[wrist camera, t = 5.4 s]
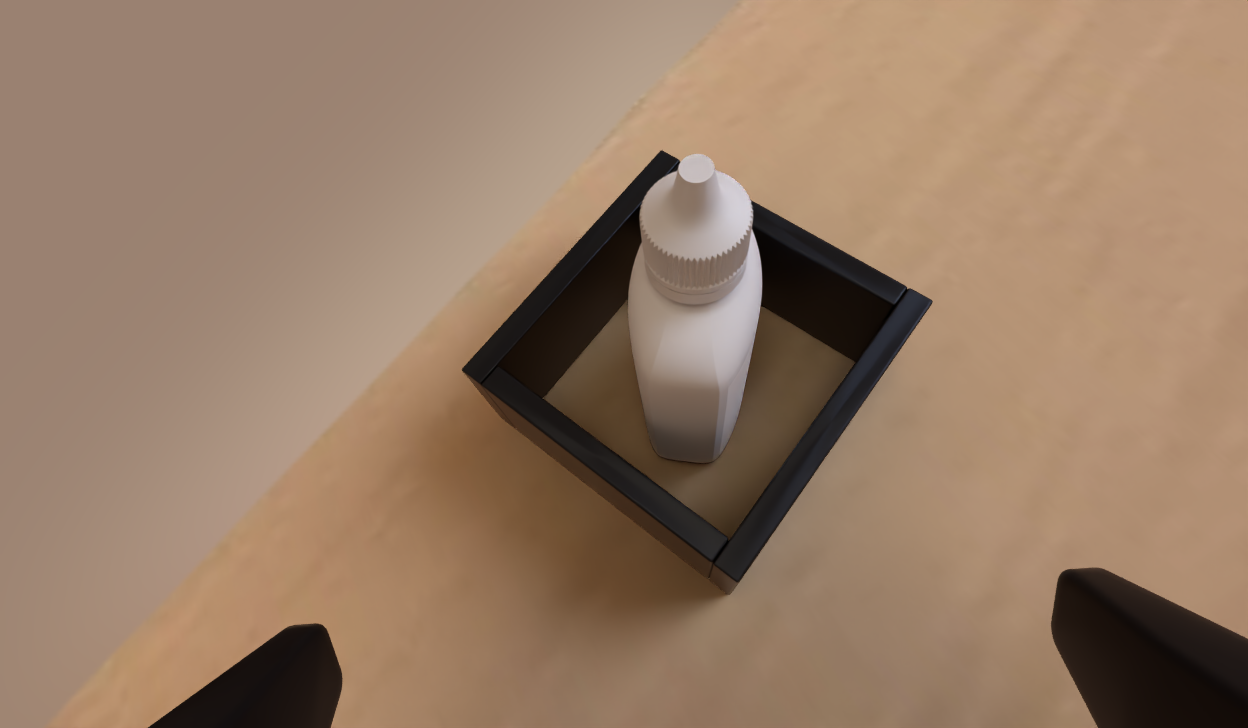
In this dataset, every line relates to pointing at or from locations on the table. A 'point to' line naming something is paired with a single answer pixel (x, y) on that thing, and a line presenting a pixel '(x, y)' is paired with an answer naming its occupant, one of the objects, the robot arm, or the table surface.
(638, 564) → the table surface
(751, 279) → the eye dropper bottle
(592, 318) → the holder
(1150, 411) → the table surface
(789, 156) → the table surface
